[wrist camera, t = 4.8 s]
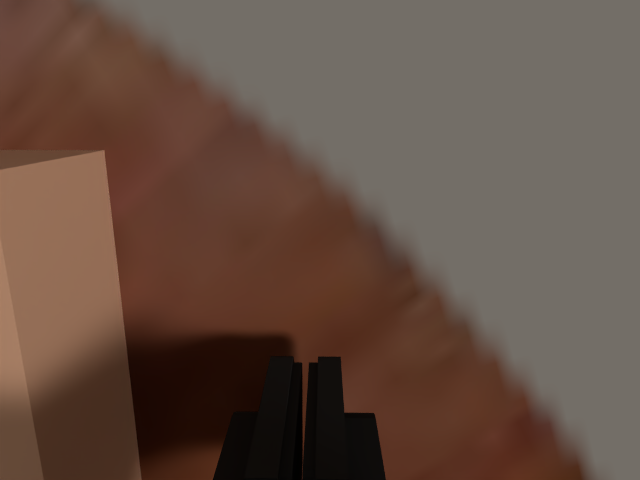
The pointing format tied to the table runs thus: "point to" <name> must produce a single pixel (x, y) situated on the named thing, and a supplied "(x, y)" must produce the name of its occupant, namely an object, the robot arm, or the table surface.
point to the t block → (61, 323)
